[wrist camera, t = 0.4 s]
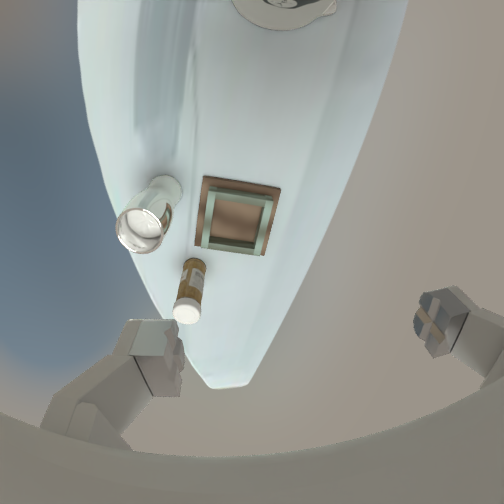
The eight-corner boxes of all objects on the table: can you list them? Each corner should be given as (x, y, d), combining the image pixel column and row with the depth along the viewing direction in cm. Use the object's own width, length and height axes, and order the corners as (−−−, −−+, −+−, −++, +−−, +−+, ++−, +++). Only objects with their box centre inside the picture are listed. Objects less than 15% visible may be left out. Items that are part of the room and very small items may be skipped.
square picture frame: (203, 175, 45) (201, 181, 42) (280, 188, 47) (283, 195, 44) (195, 242, 51) (192, 252, 48) (263, 252, 53) (265, 263, 50)
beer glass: (138, 187, 45) (104, 226, 32) (168, 164, 43) (140, 195, 31) (162, 217, 48) (138, 264, 35) (192, 196, 47) (176, 238, 34)
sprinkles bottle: (179, 261, 53) (167, 308, 42) (201, 254, 53) (193, 302, 41) (189, 279, 56) (179, 327, 44) (210, 273, 55) (204, 322, 44)
